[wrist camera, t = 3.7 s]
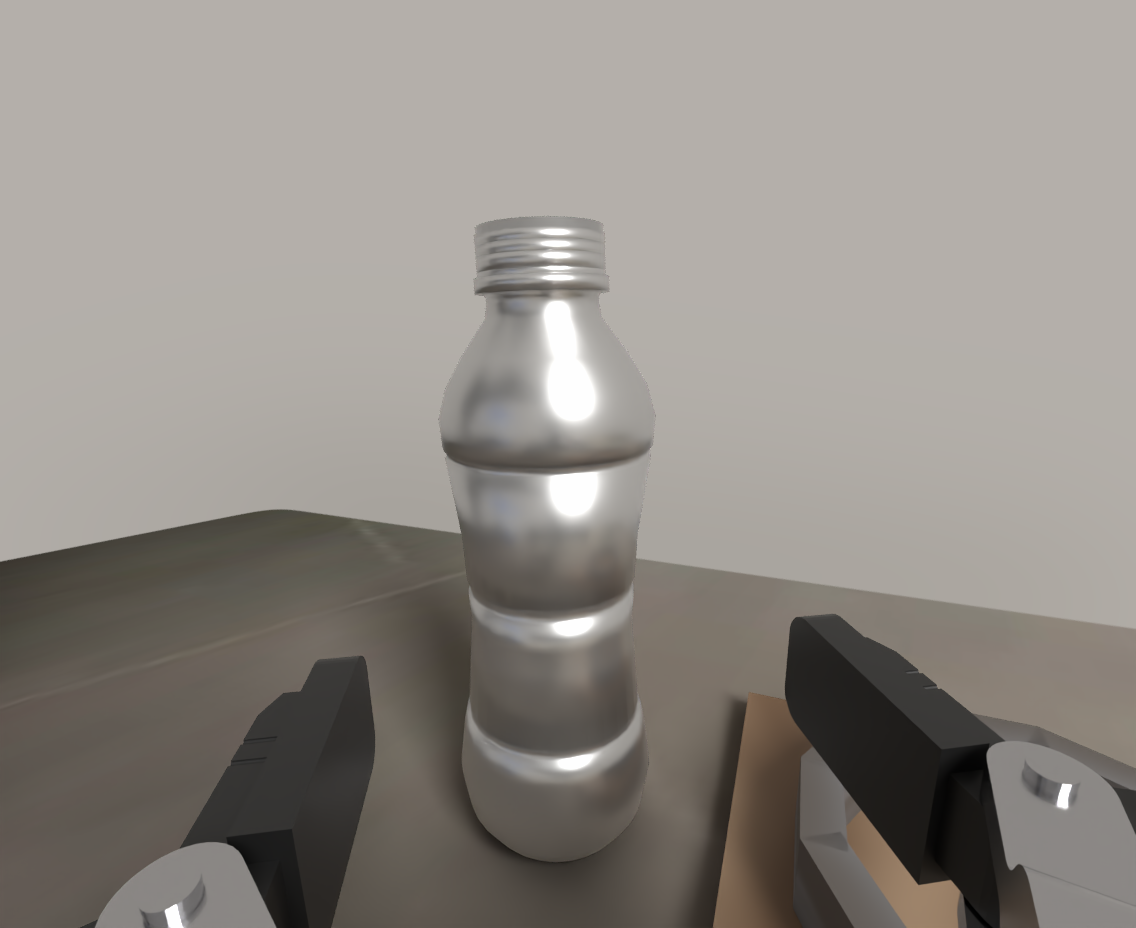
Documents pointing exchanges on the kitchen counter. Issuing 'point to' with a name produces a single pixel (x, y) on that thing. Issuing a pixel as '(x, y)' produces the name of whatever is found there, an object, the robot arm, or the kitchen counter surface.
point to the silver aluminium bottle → (549, 541)
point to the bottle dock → (772, 830)
